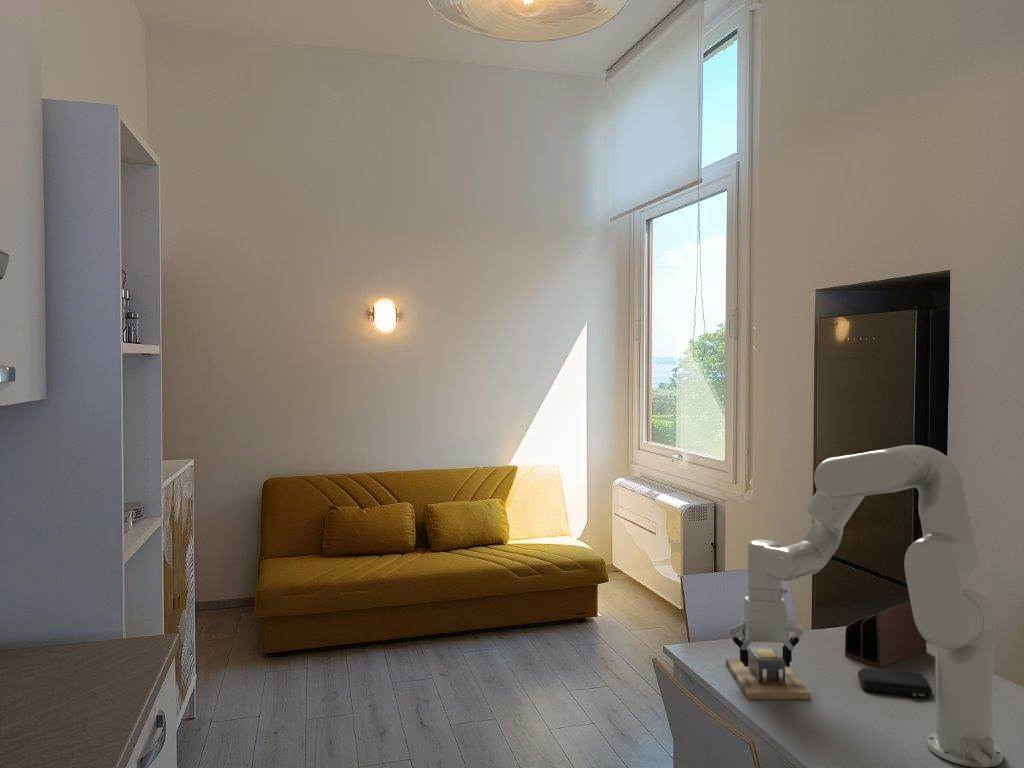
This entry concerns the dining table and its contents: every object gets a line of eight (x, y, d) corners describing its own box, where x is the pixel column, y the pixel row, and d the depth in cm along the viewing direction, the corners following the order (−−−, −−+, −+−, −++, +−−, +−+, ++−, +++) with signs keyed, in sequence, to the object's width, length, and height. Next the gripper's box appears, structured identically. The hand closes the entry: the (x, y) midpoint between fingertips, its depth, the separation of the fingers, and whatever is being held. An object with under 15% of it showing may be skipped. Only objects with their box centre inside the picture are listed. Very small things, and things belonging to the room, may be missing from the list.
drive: (748, 667, 183) (748, 646, 183) (773, 667, 183) (773, 646, 183) (759, 682, 174) (758, 660, 174) (785, 682, 174) (785, 660, 174)
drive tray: (810, 699, 169) (810, 677, 169) (747, 699, 169) (747, 677, 169) (782, 664, 189) (782, 644, 188) (725, 664, 189) (725, 644, 189)
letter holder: (927, 652, 195) (926, 598, 195) (880, 669, 185) (879, 612, 185) (891, 641, 203) (890, 589, 203) (844, 656, 193) (843, 601, 193)
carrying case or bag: (862, 695, 171) (935, 703, 166) (862, 682, 171) (935, 690, 166) (856, 677, 181) (925, 684, 176) (856, 664, 181) (925, 671, 176)
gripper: (796, 588, 182) (797, 658, 182) (724, 588, 183) (725, 658, 183) (807, 597, 174) (808, 671, 175) (731, 598, 175) (732, 671, 175)
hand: (765, 664), depth 179 cm, fingers open, 9 cm apart
